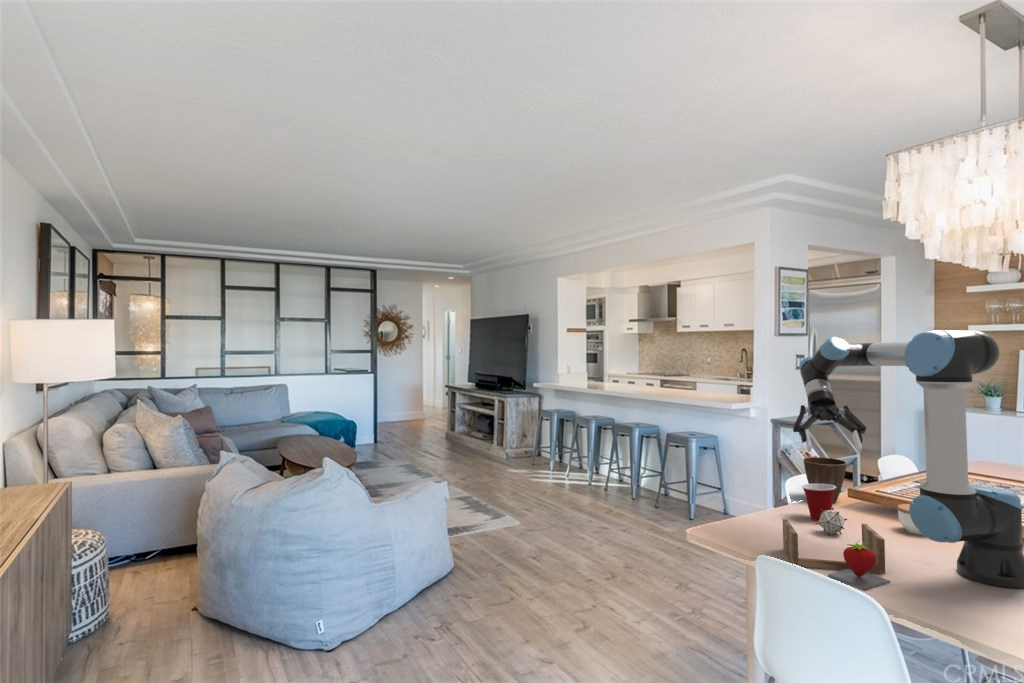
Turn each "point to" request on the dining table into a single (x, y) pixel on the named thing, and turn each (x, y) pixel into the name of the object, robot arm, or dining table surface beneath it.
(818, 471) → the plant pot
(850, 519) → the dining table surface
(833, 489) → the plastic cup
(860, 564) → the strawberry
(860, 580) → the pad
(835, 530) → the game die
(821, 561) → the wooden crossbar stand
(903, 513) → the lidded jar
